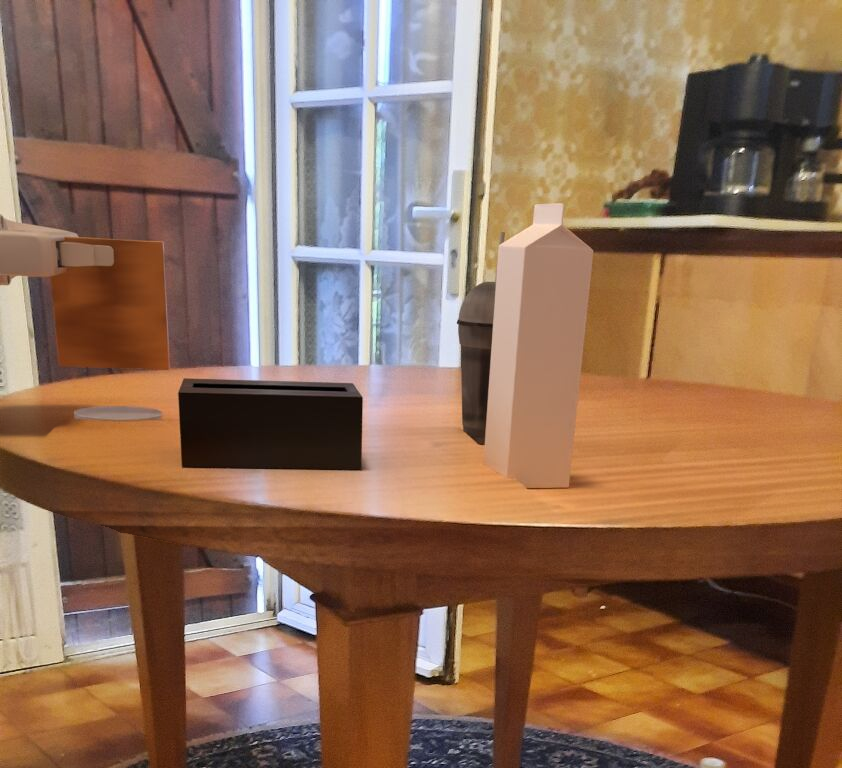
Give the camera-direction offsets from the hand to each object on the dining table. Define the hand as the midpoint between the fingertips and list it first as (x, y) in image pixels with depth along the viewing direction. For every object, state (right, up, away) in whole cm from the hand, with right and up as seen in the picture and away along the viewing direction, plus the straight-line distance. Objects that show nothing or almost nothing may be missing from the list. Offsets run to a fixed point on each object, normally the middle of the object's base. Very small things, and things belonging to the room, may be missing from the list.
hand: (116, 255), depth 106 cm
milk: (+40, -25, -11) cm, 48 cm away
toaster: (+17, -24, -11) cm, 32 cm away
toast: (-1, -10, +4) cm, 11 cm away
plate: (-2, -15, +7) cm, 16 cm away
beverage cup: (+37, -16, +8) cm, 41 cm away
